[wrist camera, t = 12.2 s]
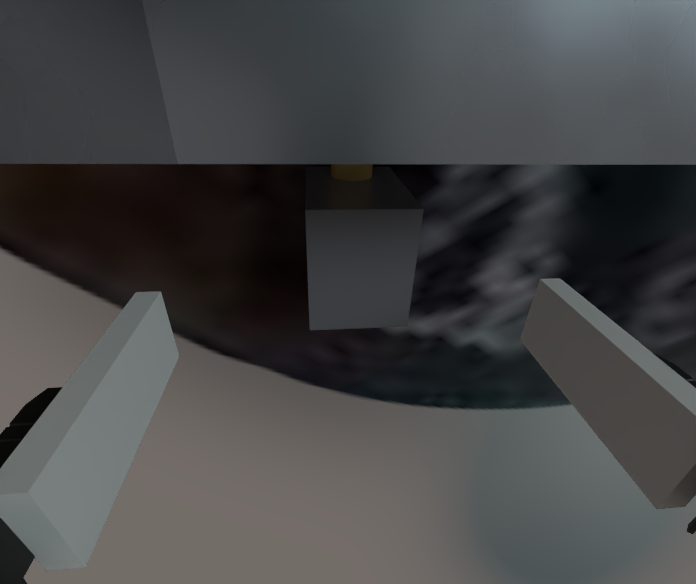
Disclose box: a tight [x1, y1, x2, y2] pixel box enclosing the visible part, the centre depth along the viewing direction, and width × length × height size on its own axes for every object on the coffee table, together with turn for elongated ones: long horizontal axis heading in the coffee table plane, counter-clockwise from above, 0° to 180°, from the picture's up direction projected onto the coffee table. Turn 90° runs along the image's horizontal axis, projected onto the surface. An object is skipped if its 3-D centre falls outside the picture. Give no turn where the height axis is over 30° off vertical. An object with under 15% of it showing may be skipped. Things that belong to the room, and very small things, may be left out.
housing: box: [0, 0, 696, 164], centre depth 9 cm, size 6×20×12 cm, turn 89°
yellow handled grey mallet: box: [305, 164, 424, 330], centre depth 12 cm, size 19×4×6 cm, turn 179°
